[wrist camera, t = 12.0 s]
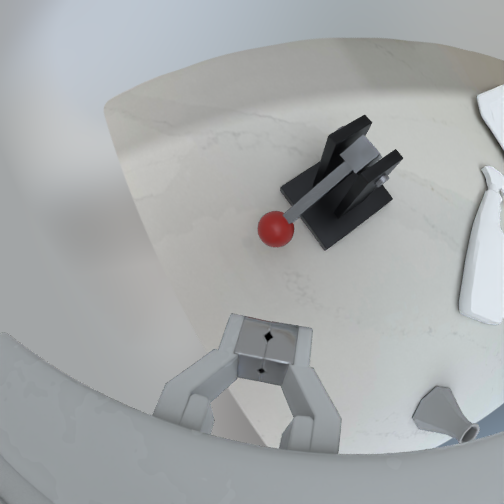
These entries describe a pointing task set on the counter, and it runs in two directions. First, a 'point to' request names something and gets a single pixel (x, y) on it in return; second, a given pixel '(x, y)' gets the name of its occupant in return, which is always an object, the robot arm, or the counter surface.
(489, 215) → the spray bottle
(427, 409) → the flask
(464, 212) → the counter surface
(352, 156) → the lever
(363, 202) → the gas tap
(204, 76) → the counter surface
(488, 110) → the plate
